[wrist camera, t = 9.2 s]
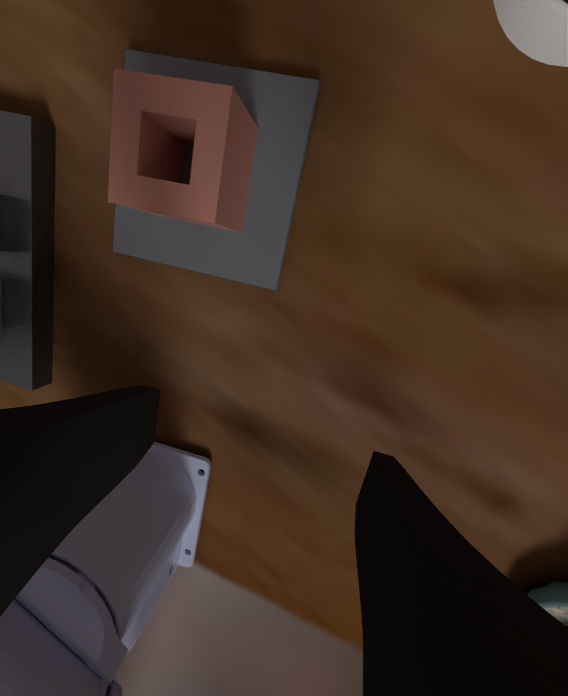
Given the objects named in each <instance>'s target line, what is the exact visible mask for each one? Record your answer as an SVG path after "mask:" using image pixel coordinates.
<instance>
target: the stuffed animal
mask: <svg viewBox="0 0 568 696" xmlns="http://www.w3.org/2000/svg"><path fill="white" fill-rule="evenodd" d="M528 596H529V597H530V598H532V599H533V600H534V601H535V602H536V603H538V604H539V605H540V606H541V607H542V608H544V609H545V610H546V611H547V612H549V613H550V614H551V615H553V616H554V617H555V618H556V619H558V620H559V621H560V622H561V623H563V624H564V625H565V626H568V582H560V581H554V582H551V583H549V584H547V585H545V586H543V587H539V588H535V589H532V590H531V591H530V592H529V593H528Z"/></svg>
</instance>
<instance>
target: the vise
mask: <svg viewBox="0 0 568 696" xmlns="http://www.w3.org/2000/svg"><path fill="white" fill-rule="evenodd" d="M54 177H55V127H52V126H50V125H48V124H46V123H44V122H42V121H40V120H38V119H36V118H34V117H32V116H27V115H22V114H17V113H12V112H6V111H1V110H0V381H2V382H5V383H8V384H12V385H15V386H18V387H22V388H25V389H28V390H32V391H33V390H35V389H38V388H40V387H43V386H45V385H48V384H50V383H52V320H53V249H54Z"/></svg>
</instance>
